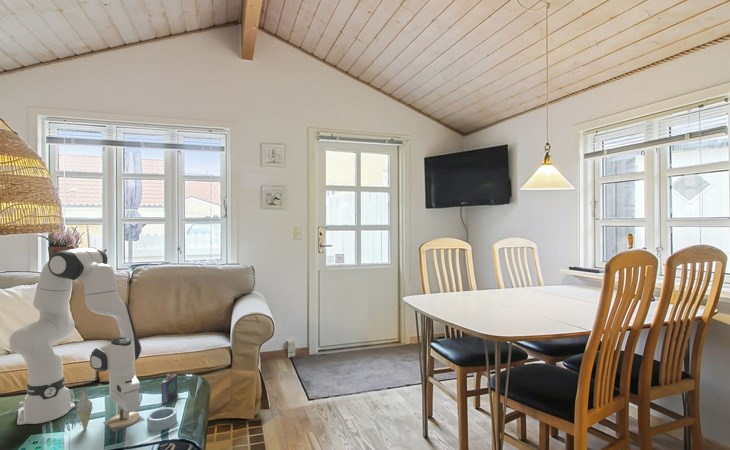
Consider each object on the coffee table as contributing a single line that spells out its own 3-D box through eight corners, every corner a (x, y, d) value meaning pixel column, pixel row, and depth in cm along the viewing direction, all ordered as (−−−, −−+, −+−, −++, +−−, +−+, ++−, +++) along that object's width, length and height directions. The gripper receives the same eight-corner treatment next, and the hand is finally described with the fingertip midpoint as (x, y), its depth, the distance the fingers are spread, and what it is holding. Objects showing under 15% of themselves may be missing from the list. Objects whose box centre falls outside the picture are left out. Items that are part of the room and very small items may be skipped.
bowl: (143, 426, 153) (143, 414, 153) (169, 416, 161) (169, 405, 161) (154, 435, 147) (154, 423, 147) (181, 424, 154) (180, 412, 154)
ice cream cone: (90, 425, 154) (89, 387, 154) (95, 430, 151) (93, 390, 151) (75, 431, 150) (73, 391, 150) (79, 435, 147) (78, 395, 147)
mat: (103, 423, 156) (103, 422, 156) (133, 412, 164) (133, 411, 164) (113, 433, 149) (113, 431, 149) (144, 421, 157) (144, 419, 157)
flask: (165, 403, 172) (164, 378, 171) (159, 403, 172) (158, 378, 172) (178, 393, 181) (178, 370, 181) (172, 393, 181) (172, 370, 181)
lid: (104, 422, 156) (103, 411, 156) (133, 411, 164) (132, 401, 164) (114, 431, 149) (113, 420, 149) (143, 419, 157) (143, 409, 157)
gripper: (104, 376, 160) (105, 410, 161) (123, 390, 147) (124, 427, 147) (121, 371, 165) (122, 404, 165) (142, 384, 152) (143, 420, 152)
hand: (123, 415), depth 156 cm, fingers closed on lid, 3 cm apart
